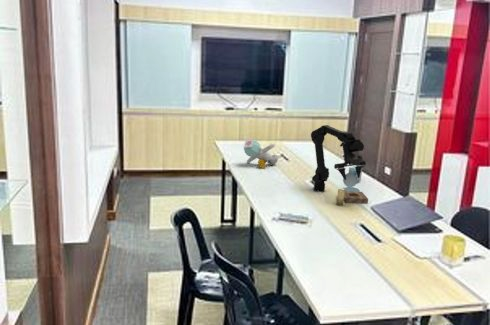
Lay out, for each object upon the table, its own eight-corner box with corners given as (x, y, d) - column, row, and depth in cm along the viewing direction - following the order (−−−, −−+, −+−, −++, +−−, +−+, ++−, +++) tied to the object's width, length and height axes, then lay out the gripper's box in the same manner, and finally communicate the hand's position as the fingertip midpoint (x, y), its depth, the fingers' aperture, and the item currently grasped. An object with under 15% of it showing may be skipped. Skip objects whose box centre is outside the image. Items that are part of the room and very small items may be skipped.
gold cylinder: (337, 205, 267) (338, 191, 265) (335, 203, 271) (337, 189, 268) (343, 206, 267) (345, 191, 265) (342, 203, 271) (343, 189, 269)
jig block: (344, 202, 273) (345, 198, 272) (339, 195, 286) (340, 190, 286) (367, 203, 273) (368, 198, 272) (361, 196, 287) (362, 191, 286)
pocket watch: (358, 172, 301) (364, 179, 286) (356, 188, 303) (362, 195, 289) (343, 172, 300) (348, 178, 286) (341, 187, 303) (346, 194, 288)
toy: (289, 147, 343) (259, 128, 330) (287, 166, 333) (256, 147, 319) (262, 163, 365) (233, 146, 352) (259, 181, 355) (229, 165, 341)
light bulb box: (356, 183, 314) (358, 168, 311) (347, 182, 317) (348, 167, 314) (361, 180, 323) (362, 165, 320) (352, 178, 326) (353, 164, 323)
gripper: (341, 153, 258) (345, 180, 258) (369, 150, 264) (373, 176, 264) (332, 155, 269) (335, 181, 268) (358, 151, 275) (362, 177, 274)
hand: (352, 178), depth 269 cm, fingers open, 9 cm apart
